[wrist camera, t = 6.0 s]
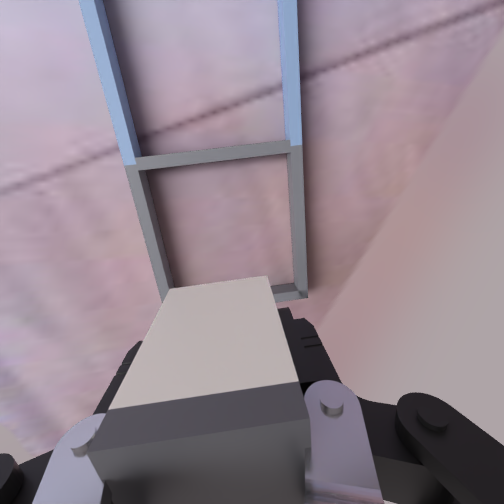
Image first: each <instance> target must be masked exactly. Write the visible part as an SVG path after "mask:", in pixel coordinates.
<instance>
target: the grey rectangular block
mask: <svg viewBox="0 0 504 504" xmlns="http://www.w3.org/2000/svg"><path fill="white" fill-rule="evenodd" d="M309 447H311V429H310V417H309V413H308V410H307V407H306V403H305V400H304V397H303V393H302V390H301V387H300V383H299V380H298V377H297V373H296V370H295V367H294V363H293V360H292V357H291V353H290V350H289V347H288V343H287V340H286V337H285V333H284V330H283V327H282V323H281V320H280V317H279V313H278V310H277V307H276V303H275V300H274V297H273V293H272V290H271V287H270V283H269V280H268V277H267V276H259V277H252V278H245V279H237V280H230V281H223V282H216V283H208V284H201V285H194V286H187V287H179V288H172V289H169V291H168V293H167V295H166V297H165V299H164V301H163V303H162V305H161V307H160V309H159V311H158V313H157V315H156V317H155V319H154V321H153V323H152V325H151V327H150V329H149V331H148V332H147V334H146V336H145V338H144V340H143V342H142V344H141V346H140V348H139V350H138V352H137V354H136V356H135V358H134V360H133V362H132V364H131V366H130V368H129V370H128V372H127V374H126V376H125V377H124V379H123V381H122V383H121V385H120V387H119V389H118V391H117V393H116V395H115V397H114V399H113V401H112V403H111V405H110V407H109V409H108V411H107V413H106V415H105V417H104V419H103V420H102V422H101V424H100V426H99V428H98V430H97V432H96V434H95V436H94V438H93V440H92V442H91V444H90V446H89V448H88V450H87V452H86V454H87V456H88V457H89V459H90V461H91V463H92V465H93V467H94V468H95V470H96V472H97V474H98V476H99V478H100V480H105V481H106V482H107V484H108V486H109V488H110V490H111V492H112V499H111V500H112V502H113V503H114V504H304V495H305V448H309Z"/></svg>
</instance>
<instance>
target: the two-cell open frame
mask: <svg viewBox="0 0 504 504" xmlns="http://www.w3.org/2000/svg"><path fill="white" fill-rule="evenodd" d="M79 4H80V7H81V11H82V15H83V18H84V22H85V26H86V29H87V33H88V36H89V40H90V44H91V47H92V51H93V55H94V58H95V62H96V65H97V69H98V73H99V76H100V80H101V83H102V87H103V91H104V94H105V98H106V102H107V105H108V109H109V112H110V116H111V120H112V123H113V127H114V131H115V134H116V138H117V141H118V145H119V149H120V152H121V156H122V159H123V163H124V167H125V170H126V174H127V178H128V181H129V185H130V188H131V192H132V196H133V199H134V203H135V207H136V210H137V214H138V217H139V221H140V225H141V228H142V232H143V235H144V239H145V243H146V246H147V250H148V254H149V257H150V261H151V264H152V268H153V272H154V275H155V279H156V283H157V286H158V290H159V293H160V297H161V301H162V303H163V301H164V299H165V297H166V295H167V293H168V291H169V289H172V288H175V287H174V283H173V279H172V275H171V271H170V267H169V263H168V259H167V255H166V251H165V247H164V243H163V239H162V235H161V231H160V227H159V223H158V219H157V215H156V211H155V207H154V203H153V199H152V195H151V191H150V187H149V183H148V179H147V175H146V171H145V170H150V169H159V168H167V167H176V166H184V165H192V164H201V163H209V162H218V161H226V160H234V159H243V158H251V157H260V156H268V155H276V154H285V153H287V169H288V186H289V203H290V220H291V237H292V254H293V271H294V283H291V284H284V285H276V286H270V287H271V290H272V293H273V297H274V300H275V302H282V301H289V300H296V299H303V298H308V283H307V257H306V231H305V204H304V178H303V152H302V125H301V99H300V72H299V46H298V20H297V0H278V17H279V34H280V51H281V68H282V85H283V102H284V118H285V135H286V140H283V141H274V142H266V143H257V144H249V145H240V146H231V147H223V148H214V149H206V150H197V151H189V152H180V153H172V154H163V155H155V156H146V157H142V155H141V151H140V147H139V143H138V139H137V135H136V131H135V127H134V123H133V119H132V115H131V111H130V107H129V103H128V99H127V95H126V91H125V87H124V83H123V79H122V75H121V71H120V67H119V63H118V59H117V55H116V51H115V47H114V43H113V39H112V35H111V31H110V27H109V23H108V19H107V15H106V11H105V7H104V3H103V0H79Z"/></svg>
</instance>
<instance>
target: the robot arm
mask: <svg viewBox="0 0 504 504" xmlns="http://www.w3.org/2000/svg"><path fill="white" fill-rule="evenodd" d="M277 310H278V313H279V317H280V320H281V323H282V327H283V330H284V333H285V337H286V340H287V343H288V347H289V350H290V353H291V357H292V360H293V363H294V367H295V370H296V373H297V377H298V380H299V383H300V387H301V390H302V393H303V397H304V400H305V403H306V407H307V410H308V413H309V417H310V429H311V447H309V448H305V495H304V504H384V501H383V500H386V501H390V502H394V503H397V504H504V446H503V445H502V444H501V443H499V442H498V441H497V440H495V439H494V438H493V437H491V436H490V435H489V434H487V433H486V432H485V431H483V430H482V429H481V428H479V427H478V426H477V425H475V424H474V423H472V422H471V421H470V420H469V419H467V418H466V417H465V416H463V415H462V414H461V413H459V412H458V411H457V410H455V409H454V408H453V407H451V406H450V405H448V404H447V403H446V402H444V401H442V400H440V399H439V398H436V397H434V396H431V395H428V394H424V393H408V394H406V395H403V396H402V397H401V398H400V399H399V401H398V403H397V405H390V404H384V403H377V402H372V401H368V400H365V399H362V398H360V397H358V396H356V395H355V394H354V393H353V392H352V390H351V389H349V388H348V387H347V386H345V385H343V384H342V382H341V381H340V379H339V377H338V375H337V373H336V371H335V369H334V367H333V364H332V362H331V361H330V358H329V356H328V354H327V352H326V350H325V348H324V346H323V345H322V342H321V340H320V338H319V337H318V334H317V332H316V330H315V328H314V326H313V325H312V324H311V323H310V322H308V321H307V320H306V319H305V318H301V319H293V316H292V314H291V311H290V309H289V307H287V308H280V309H277ZM142 342H143V341H139V342H138V343H137V344H136V345H135V346H134V347H133V348H131V349H130V350H129V351H128V353H127V355H126V356H125V358H124V360H123V362H122V366H120V367H119V369H118V371H117V372H116V376H114V378H113V380H112V381H111V383H110V385H109V387H108V389H107V390H106V392H105V394H104V396H103V397H102V399H101V401H100V403H99V405H98V406H97V408H96V410H95V412H94V413H93V415H92V416H89V417H87V418H85V419H83V420H81V421H80V422H78V423H77V424H76V425H74V426H73V427H72V428H71V429H70V430H68V431H67V432H66V433H65V434H64V436H63V437H62V438H61V439H60V440H59V442H58V443H57V445H56V447H55V448H54V450H52V451H49V452H47V453H45V454H42V455H40V456H38V457H36V458H33V459H31V460H29V461H26V462H24V463H22V464H20V465H18V464H17V463H16V461H15V460H14V458H13V457H12V456H11V455H10V454H0V504H114V503H113V502H112V500H111V499H112V492H111V490H110V488H109V486H108V484H107V482H106V481H105V480H100V478H99V476H98V474H97V472H96V470H95V468H94V467H93V465H92V463H91V461H90V459H89V457H88V456H87V454H86V452H87V450H88V448H89V446H90V444H91V442H92V440H93V438H94V436H95V434H96V432H97V430H98V428H99V426H100V424H101V422H102V420H103V419H104V417H105V415H106V413H107V411H108V409H109V407H110V405H111V403H112V401H113V399H114V397H115V395H116V393H117V391H118V389H119V387H120V385H121V383H122V381H123V379H124V377H125V376H126V374H127V372H128V370H129V368H130V366H131V364H132V362H133V360H134V358H135V356H136V354H137V352H138V350H139V348H140V346H141V344H142Z"/></svg>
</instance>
